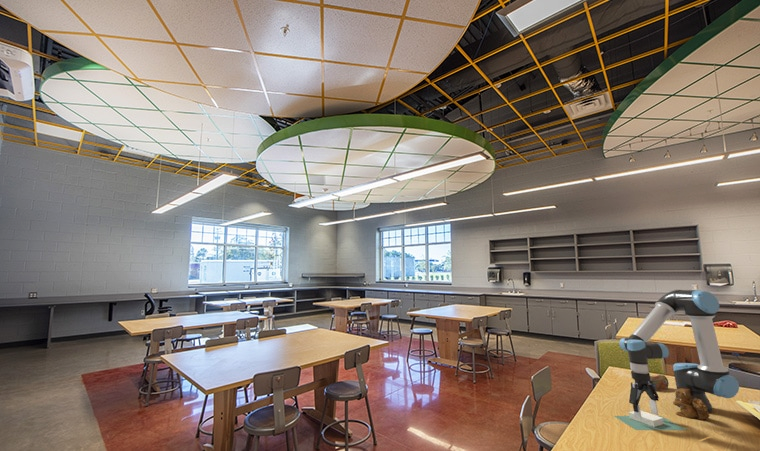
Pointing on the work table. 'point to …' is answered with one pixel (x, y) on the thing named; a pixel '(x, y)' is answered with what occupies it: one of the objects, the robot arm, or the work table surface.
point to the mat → (640, 426)
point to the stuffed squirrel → (690, 405)
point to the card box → (648, 419)
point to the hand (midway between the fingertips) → (646, 416)
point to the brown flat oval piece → (659, 382)
